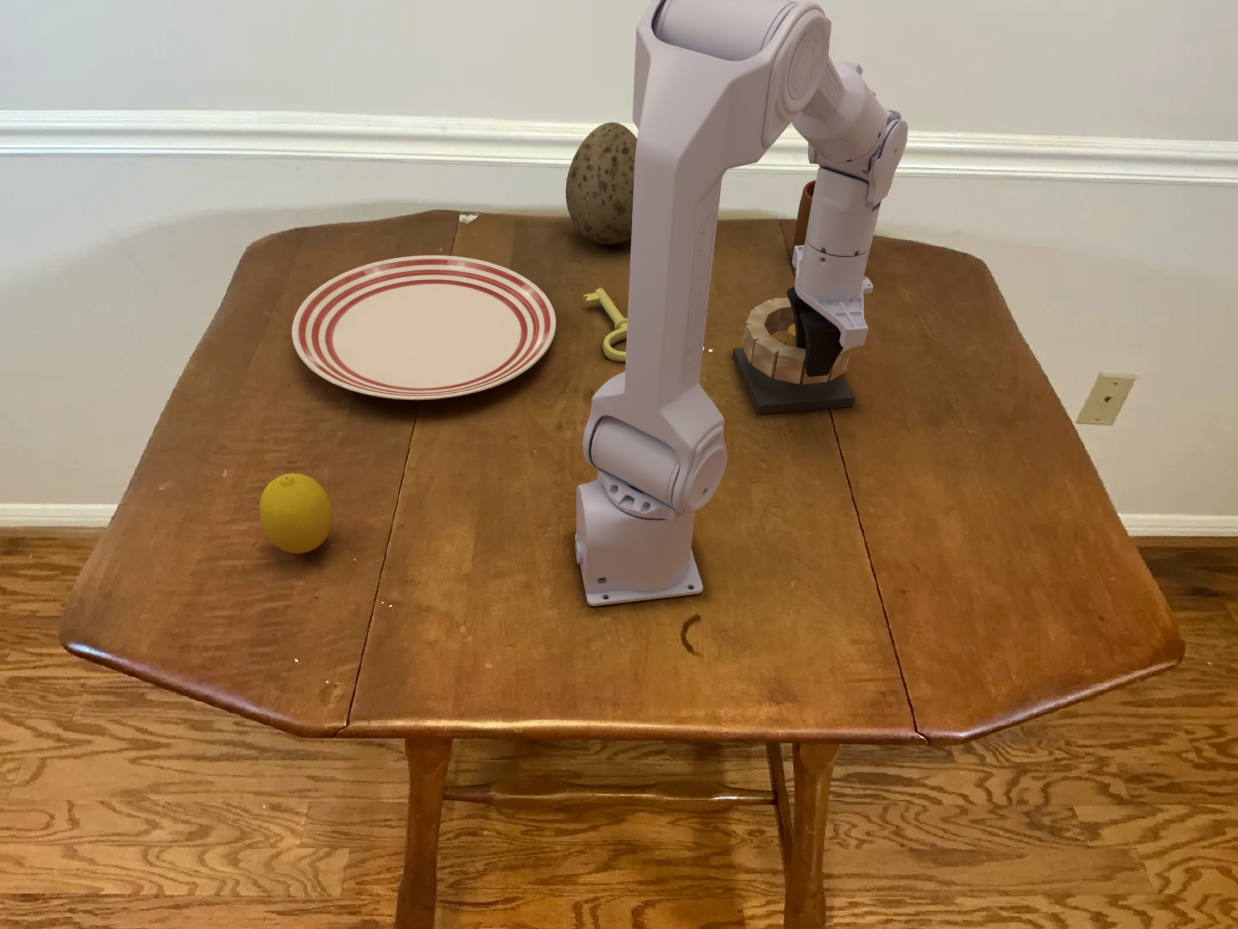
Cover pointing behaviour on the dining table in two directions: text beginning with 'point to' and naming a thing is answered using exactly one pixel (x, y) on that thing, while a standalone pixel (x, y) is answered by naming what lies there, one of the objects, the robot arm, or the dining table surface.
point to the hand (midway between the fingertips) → (812, 366)
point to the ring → (782, 345)
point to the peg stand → (790, 388)
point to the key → (619, 326)
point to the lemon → (295, 513)
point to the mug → (803, 215)
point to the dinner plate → (424, 327)
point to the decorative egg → (603, 184)
